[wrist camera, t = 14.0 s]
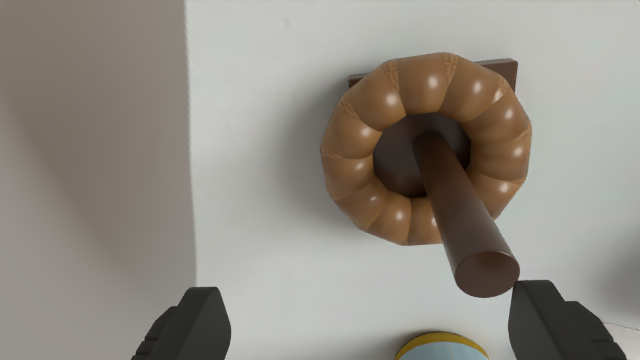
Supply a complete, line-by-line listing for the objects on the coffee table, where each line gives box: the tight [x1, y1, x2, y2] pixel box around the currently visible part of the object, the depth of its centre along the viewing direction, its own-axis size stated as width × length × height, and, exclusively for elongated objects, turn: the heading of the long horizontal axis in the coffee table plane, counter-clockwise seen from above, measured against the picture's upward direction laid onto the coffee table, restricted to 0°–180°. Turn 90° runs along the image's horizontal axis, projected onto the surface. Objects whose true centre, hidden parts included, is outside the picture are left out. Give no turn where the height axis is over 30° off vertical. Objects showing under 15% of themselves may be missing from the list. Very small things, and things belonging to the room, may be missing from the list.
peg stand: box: [348, 58, 520, 298], centre depth 15 cm, size 8×8×11 cm
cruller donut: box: [320, 52, 532, 246], centre depth 18 cm, size 10×10×3 cm
